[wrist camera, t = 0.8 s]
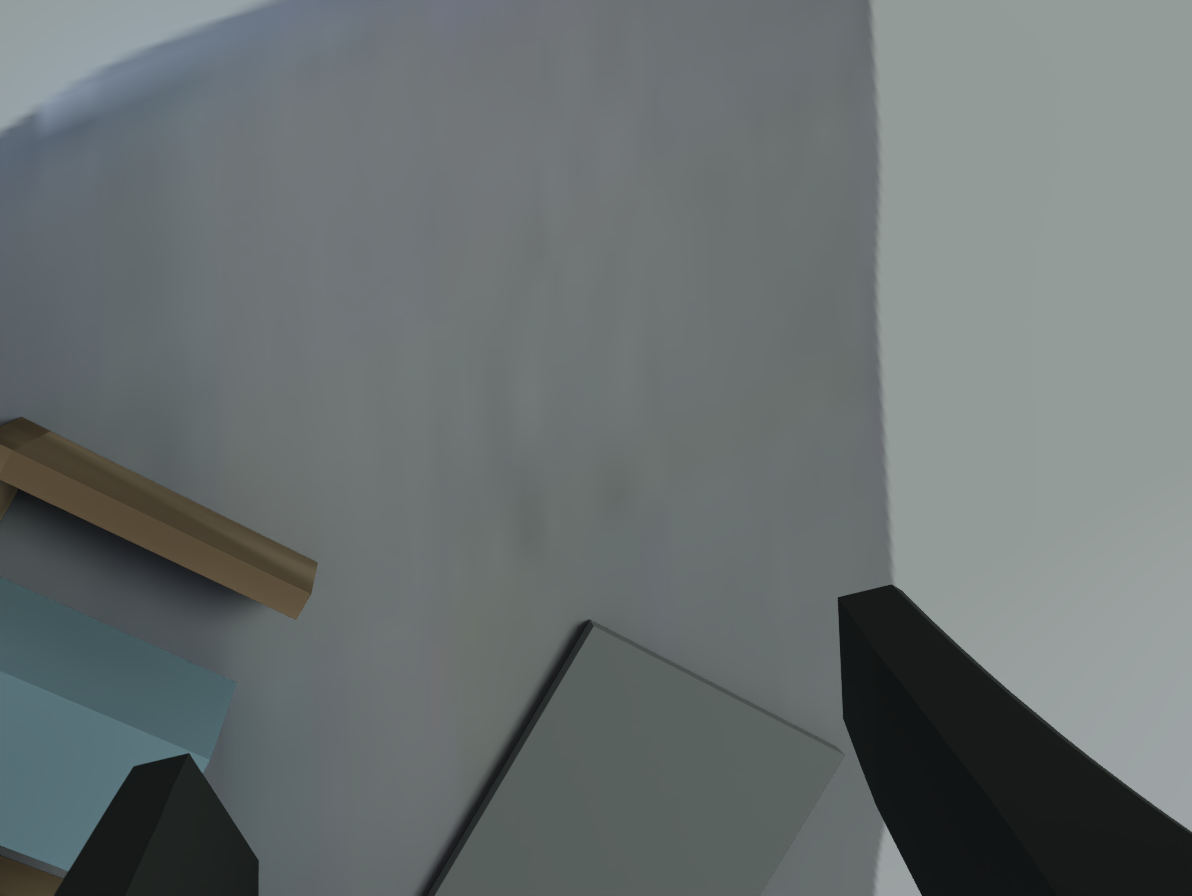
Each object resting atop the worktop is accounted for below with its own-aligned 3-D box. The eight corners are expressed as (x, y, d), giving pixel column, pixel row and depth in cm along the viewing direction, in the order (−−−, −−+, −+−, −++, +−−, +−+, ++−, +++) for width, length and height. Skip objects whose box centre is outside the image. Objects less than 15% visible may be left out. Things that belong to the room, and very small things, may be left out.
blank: (171, 795, 30) (132, 895, 25) (-67, 698, 28) (-157, 786, 24) (237, 681, 30) (210, 759, 25) (2, 576, 28) (-75, 639, 23)
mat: (672, 1018, 35) (677, 1031, 34) (415, 914, 32) (416, 926, 32) (837, 747, 35) (845, 755, 34) (589, 619, 32) (593, 626, 31)
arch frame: (110, 923, 30) (81, 992, 28) (-198, 811, 28) (-264, 873, 25) (317, 562, 30) (311, 593, 27) (21, 416, 28) (-20, 434, 25)
